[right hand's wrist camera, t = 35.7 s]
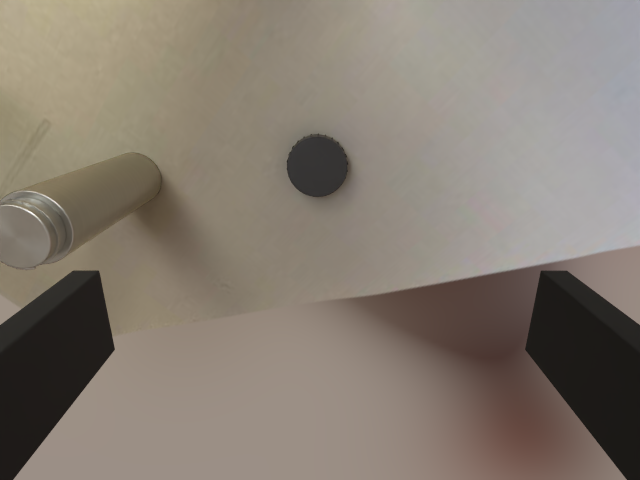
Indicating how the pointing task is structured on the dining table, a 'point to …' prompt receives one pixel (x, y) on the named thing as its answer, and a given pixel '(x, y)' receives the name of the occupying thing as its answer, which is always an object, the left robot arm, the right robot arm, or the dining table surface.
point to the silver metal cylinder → (72, 209)
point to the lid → (317, 165)
